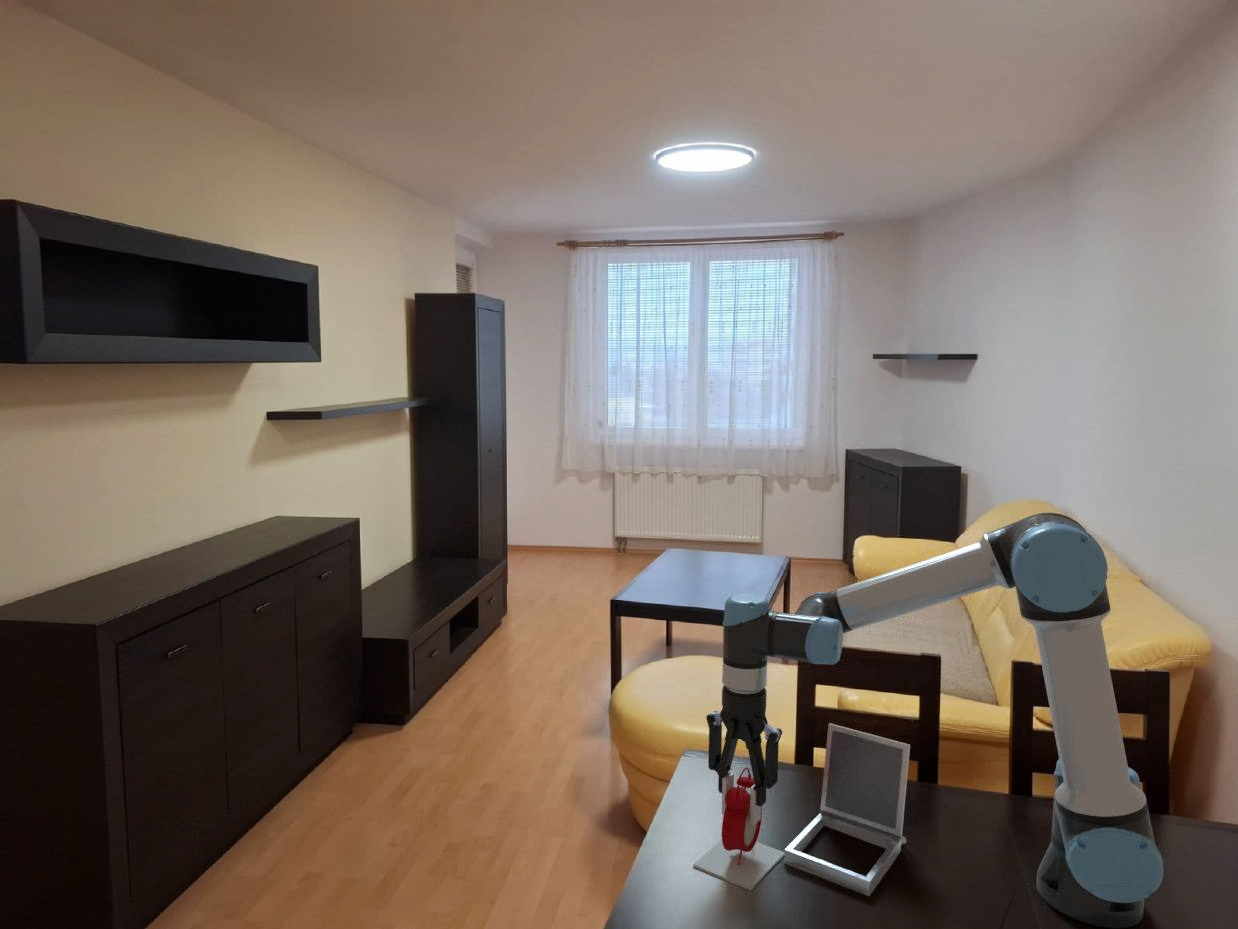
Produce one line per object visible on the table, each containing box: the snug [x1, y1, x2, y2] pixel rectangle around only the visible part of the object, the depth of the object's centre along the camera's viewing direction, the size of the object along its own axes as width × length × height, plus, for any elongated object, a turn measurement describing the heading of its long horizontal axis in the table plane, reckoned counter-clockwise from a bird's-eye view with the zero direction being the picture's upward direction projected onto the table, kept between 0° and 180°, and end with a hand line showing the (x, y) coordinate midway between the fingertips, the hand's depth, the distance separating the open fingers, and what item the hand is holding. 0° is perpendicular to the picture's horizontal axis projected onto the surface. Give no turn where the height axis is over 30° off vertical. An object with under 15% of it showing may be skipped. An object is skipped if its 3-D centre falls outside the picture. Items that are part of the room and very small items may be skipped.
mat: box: [692, 838, 784, 892], centre depth 141 cm, size 11×13×1 cm
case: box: [783, 809, 902, 897], centre depth 143 cm, size 15×16×3 cm
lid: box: [820, 722, 911, 836], centre depth 149 cm, size 15×16×1 cm
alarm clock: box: [721, 767, 763, 865], centre depth 141 cm, size 10×6×15 cm, turn 151°
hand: (741, 816), depth 141 cm, fingers closed on alarm clock, 5 cm apart
